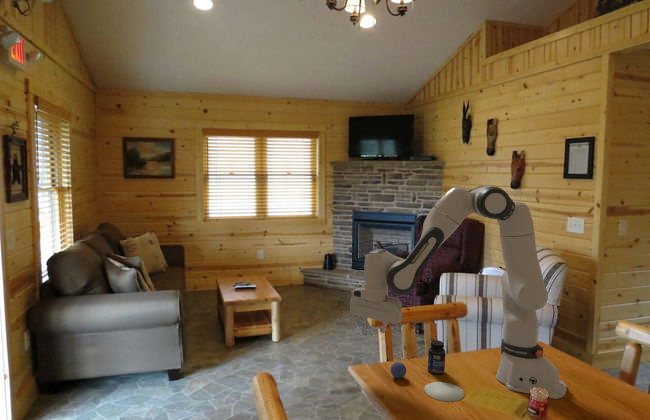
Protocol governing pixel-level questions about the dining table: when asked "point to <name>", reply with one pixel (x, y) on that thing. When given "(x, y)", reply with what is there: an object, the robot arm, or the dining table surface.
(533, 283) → the robot arm
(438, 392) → the disc
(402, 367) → the ball
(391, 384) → the dining table surface
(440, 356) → the pill bottle
